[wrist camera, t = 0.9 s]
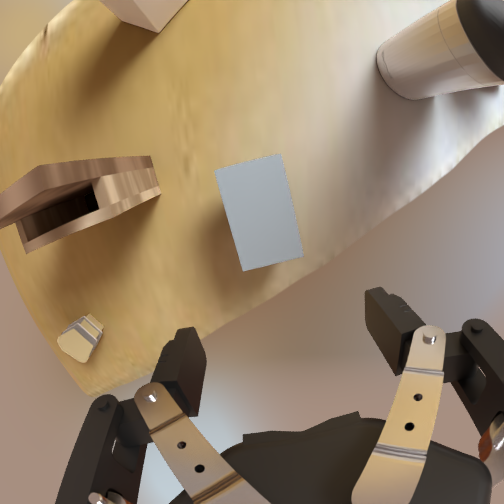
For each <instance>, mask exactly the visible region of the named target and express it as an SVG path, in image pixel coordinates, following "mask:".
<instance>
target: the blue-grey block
mask: <svg viewBox="0 0 504 504" xmlns="http://www.w3.org/2000/svg"><path fill="white" fill-rule="evenodd" d="M214 172H215V176H216V179H217V183H218V186H219V190H220V193H221V197H222V201H223V204H224V208H225V211H226V215H227V218H228V222H229V225H230V229H231V232H232V236H233V239H234V242H235V246H236V249H237V253H238V256H239V260H240V263H241V266H242V270H243V271H247V270H251V269H255V268H260V267H264V266H268V265H272V264H276V263H280V262H284V261H288V260H292V259H296V258H300V257H304V254H303V249H302V244H301V239H300V235H299V230H298V225H297V220H296V216H295V211H294V207H293V202H292V198H291V194H290V189H289V185H288V181H287V176H286V172H285V168H284V164H283V160H282V156H281V154H275V155H271V156H266V157H262V158H258V159H254V160H250V161H246V162H242V163H238V164H234V165H231V166H227V167H223V168H220V169H217V170H215V171H214Z"/></svg>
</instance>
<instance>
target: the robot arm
mask: <svg viewBox="0 0 504 504" xmlns="http://www.w3.org/2000/svg"><path fill="white" fill-rule="evenodd" d="M377 65H378V69H379V71H380V73H381V76H382V77H383V79H384V81H385V82H386V83H387V84H388V86H389V87H390V88H391V89H392V90H393V91H394V92H396V93H397V94H399V95H400V96H402V97H404V98H407V99H411V100H419V99H423V98H427V97H432V96H437V95H442V94H447V93H452V92H457V91H463V90H469V89H475V88H482V87H489V86H496V85H504V1H503V0H450V1H449V2H447V3H445V4H443V5H442V6H440V7H438V8H437V9H435V10H433V11H432V12H430V13H428V14H427V15H425V16H423V17H422V18H420V19H419V20H417V21H416V22H414V23H412V24H411V25H409V26H408V27H406V28H405V29H403V30H402V31H400V32H399V33H397V34H396V35H394V36H393V37H391V38H390V39H388V40H387V41H386V42H384V43H383V44H382V45H381V46H380V48H379V49H378V52H377ZM365 321H366V326H367V329H368V331H369V332H370V334H371V336H372V337H373V339H374V341H375V342H376V344H377V346H378V347H379V349H380V351H381V352H382V354H383V356H384V357H385V359H386V361H387V362H388V364H389V366H390V367H391V369H392V371H393V373H394V374H395V376H397V375H400V374H402V377H401V380H400V383H399V387H398V390H397V393H396V396H395V399H394V402H393V405H392V407H391V410H390V413H389V416H388V418H387V421H386V420H382V419H376V418H361V417H360V415H359V412H358V411H357V412H353V413H350V414H346V415H343V416H339V417H336V418H332V419H329V420H327V421H325V422H323V423H321V424H318V425H316V426H314V427H312V428H310V429H307V430H305V431H301V432H291V431H290V432H289V431H267V432H260V433H251V434H243V442H242V443H239V444H236V445H234V446H232V447H230V448H229V449H227V450H225V451H224V452H222V453H221V454H220V455H219V453H218V452H217V451H216V450H215V449H214V448H213V447H212V446H211V445H210V443H209V442H208V441H207V440H206V439H205V438H204V437H203V435H202V434H201V433H200V432H199V430H198V429H197V428H196V427H195V425H194V424H193V423H192V422H191V421H190V419H189V417H196V416H198V412H199V406H200V400H201V394H202V388H203V381H204V376H205V370H206V362H207V361H206V355H205V351H204V349H203V347H202V344H201V342H200V339H199V337H198V334H197V332H196V330H195V328H194V327H189V328H182V329H178V330H177V332H176V335H175V338H174V340H170V341H169V342H168V343H167V344H166V345H165V346H164V347H163V349H162V352H161V355H160V357H159V360H158V363H157V365H156V368H155V371H154V373H153V376H152V379H151V382H150V383H148V384H146V385H144V386H142V387H141V388H139V389H138V390H137V392H136V394H135V396H134V398H132V399H128V400H124V401H121V402H119V401H118V400H117V399H116V397H115V396H113V395H110V394H107V395H102V396H100V397H98V398H97V399H96V400H95V401H94V402H93V403H92V405H91V407H90V409H89V412H88V414H87V416H86V418H85V421H84V423H83V426H82V428H81V431H80V433H79V436H78V438H77V441H76V443H75V446H74V449H73V451H72V454H71V457H70V459H69V462H68V465H67V468H66V471H65V474H64V477H63V480H62V483H61V486H60V489H59V492H58V496H57V499H56V503H55V504H137V498H138V493H139V487H140V481H141V475H142V470H143V464H144V459H145V453H146V448H147V444H148V443H151V442H154V443H155V445H156V446H157V448H158V450H159V451H160V453H161V454H162V456H163V458H164V459H165V461H166V462H167V464H168V466H169V467H170V469H171V470H172V472H173V473H174V475H175V476H176V478H177V479H178V481H179V482H180V483H181V485H182V486H183V488H184V490H183V491H182V492H181V493H180V494H179V495H178V496H177V497H176V498H175V499H173V500H172V501H171V502H170V503H169V504H490V498H491V492H492V488H494V487H495V486H497V485H498V484H500V483H501V482H502V481H504V340H503V339H502V338H501V337H500V336H499V335H498V334H497V333H496V332H495V331H494V329H493V328H492V327H491V326H490V325H489V324H488V323H486V322H485V321H483V320H480V319H470V320H467V321H466V322H465V323H464V324H463V326H462V330H461V331H459V332H453V333H445V332H444V331H443V330H442V329H441V328H439V327H436V326H433V325H426V324H425V323H424V322H423V321H422V320H421V318H420V317H419V316H418V315H417V314H416V313H415V312H414V311H413V310H412V309H411V308H410V307H409V306H408V305H407V303H406V302H405V301H404V300H403V299H402V298H401V297H398V296H396V295H394V294H390V295H388V294H387V293H386V292H385V290H384V289H383V288H382V287H377V288H373V289H370V290H366V291H365ZM478 367H480V369H481V370H482V371H483V373H484V374H485V376H486V377H485V376H484V374H483V373H482V372H481V370H480V369H479V368H478ZM447 382H451V384H452V386H453V387H454V389H455V391H456V392H457V394H458V396H459V397H460V399H461V401H462V402H463V404H464V406H465V408H466V409H467V411H468V413H469V414H470V416H471V418H472V420H473V422H474V424H475V426H476V428H477V429H478V431H479V433H480V435H481V439H480V440H479V444H478V451H479V458H480V459H478V458H476V457H473V456H471V455H468V454H465V453H462V452H460V451H457V450H454V449H451V448H449V447H446V446H444V445H441V444H439V443H437V442H434V441H431V436H432V432H433V428H434V424H435V420H436V416H437V411H438V406H439V401H440V396H441V390H442V384H443V383H447ZM115 440H116V443H115V446H114V450H113V453H112V448H113V444H114V441H115Z"/></svg>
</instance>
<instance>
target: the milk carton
mask: <svg viewBox="0 0 504 504" xmlns="http://www.w3.org/2000/svg"><path fill="white" fill-rule="evenodd" d="M99 1H101V2H102V3H103V4H104V5H105V6H106V7H107V8H108V9H109V10H111V11H112V12H113V13H114V14H115V15H116V16H117V17H118V18H119V19H120V20H121V21H124V22H127V23H130V24H133V25H136V26H139V27H142V28H145V29H148V30H151V31H154V32H156V33H159V32H160V31H161V30H162V29H163V28H164V26H165V25H166V24H167V23H168V22H169V21H170V19H171V18H172V17H173V16H174V15H175V14H176V13H177V12H178V10H179V9H180V8H181V7H182V6H183V5H184V4H185V3H186V2H187V1H188V0H99Z"/></svg>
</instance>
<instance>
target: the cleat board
mask: <svg viewBox="0 0 504 504" xmlns="http://www.w3.org/2000/svg"><path fill="white" fill-rule="evenodd" d="M91 192H94V193H95V196H96V199H97V203H98V206H99V209H96V210H94V211H91V212H89V210H88V207H87V204H86V200H85V197H84V196H85V195H87V194H89V193H91ZM159 194H161V191H160V188H159V185H158V181H157V178H156V174H155V171H154V167H153V164H152V160H151V157H150V156H132V157H114V158H100V159H89V160H79V161H70V162H61V163H54V164H46V165H40V166H37V167H36V168H34V169H33V170H31V171H30V172H29V173H27V174H26V175H24V176H23V177H22V178H20V179H19V180H18V181H16V182H15V183H14V184H12V185H11V186H10V187H8V188H7V189H6V190H5V191H3V192H2V193H1V194H0V229H2V228H4V227H6V226H8V225H11V224H13V223H16V226H17V229H18V232H19V235H20V238H21V241H22V244H23V247H24V249H25V252H26V254H27V253H29V252H31V251H34V250H36V249H38V248H40V247H42V246H45V245H47V244H49V243H51V242H54V241H56V240H58V239H61V238H63V237H65V236H68V235H70V234H72V233H75V232H77V231H80V230H82V229H85V228H87V227H90V226H92V225H95V224H97V223H100V222H103V221H105V220H108V219H111V218H113V217H115V216H117V215H119V214H121V213H123V212H125V211H127V210H129V209H131V208H133V207H135V206H137V205H139V204H141V203H143V202H145V201H147V200H149V199H151V198H153V197H155V196H157V195H159Z"/></svg>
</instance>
